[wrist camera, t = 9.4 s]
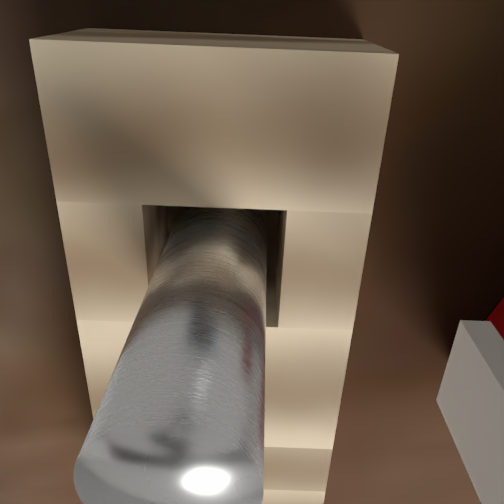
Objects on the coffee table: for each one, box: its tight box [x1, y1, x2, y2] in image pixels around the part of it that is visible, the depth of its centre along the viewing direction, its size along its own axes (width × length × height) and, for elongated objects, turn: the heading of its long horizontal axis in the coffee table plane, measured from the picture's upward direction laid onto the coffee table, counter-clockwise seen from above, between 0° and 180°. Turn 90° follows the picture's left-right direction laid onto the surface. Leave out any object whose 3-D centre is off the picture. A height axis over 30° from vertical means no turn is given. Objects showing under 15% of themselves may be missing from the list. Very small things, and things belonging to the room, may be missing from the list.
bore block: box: [29, 28, 399, 504], centre depth 21 cm, size 24×10×5 cm, turn 178°
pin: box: [73, 206, 267, 504], centre depth 14 cm, size 4×4×12 cm
